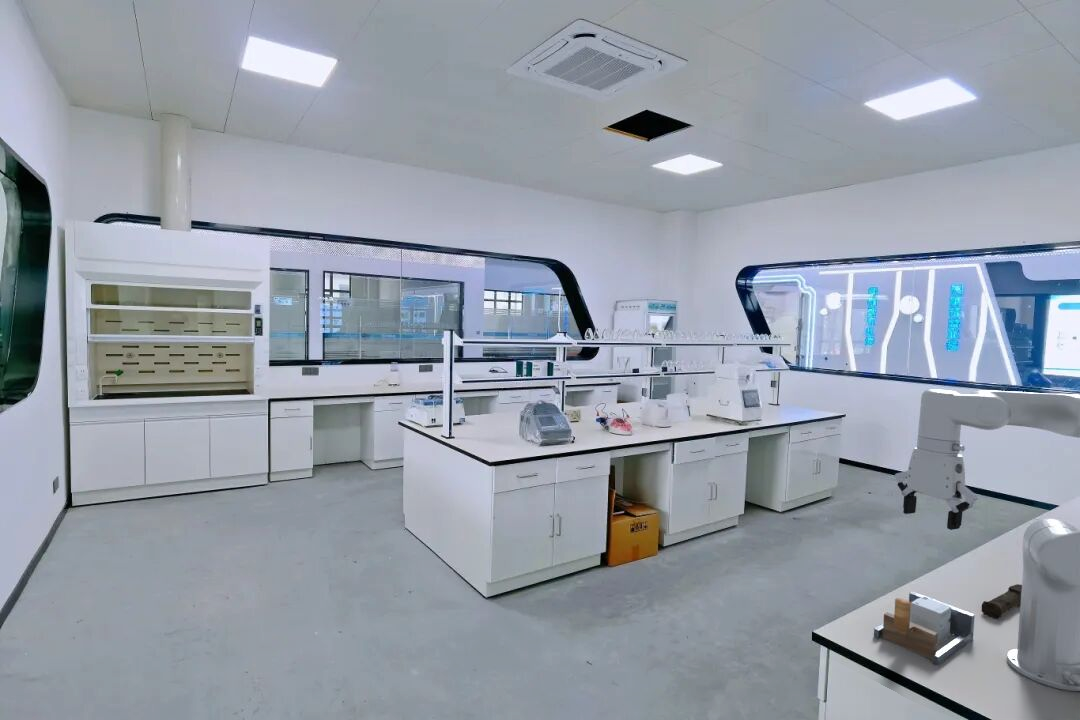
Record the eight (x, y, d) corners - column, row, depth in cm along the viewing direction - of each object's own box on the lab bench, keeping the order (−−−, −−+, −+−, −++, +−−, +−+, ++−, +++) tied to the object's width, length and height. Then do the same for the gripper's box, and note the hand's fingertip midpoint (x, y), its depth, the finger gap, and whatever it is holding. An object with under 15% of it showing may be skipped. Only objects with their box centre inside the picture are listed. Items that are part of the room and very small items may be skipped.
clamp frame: (937, 666, 115) (939, 638, 114) (873, 636, 125) (875, 611, 125) (972, 640, 125) (974, 614, 124) (910, 615, 135) (912, 591, 135)
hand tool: (999, 622, 133) (1001, 603, 133) (980, 614, 137) (981, 596, 136) (1035, 605, 142) (1037, 587, 142) (1016, 598, 145) (1018, 581, 145)
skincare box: (938, 645, 122) (940, 613, 122) (908, 632, 127) (910, 602, 127) (950, 637, 126) (952, 606, 125) (920, 625, 131) (921, 595, 130)
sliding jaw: (923, 667, 114) (926, 613, 113) (872, 643, 122) (875, 593, 122) (936, 657, 117) (939, 605, 117) (885, 635, 126) (888, 586, 125)
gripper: (992, 454, 115) (984, 533, 116) (910, 436, 131) (904, 506, 132) (968, 456, 112) (960, 537, 114) (888, 437, 128) (882, 509, 130)
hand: (930, 520), depth 123 cm, fingers open, 9 cm apart
